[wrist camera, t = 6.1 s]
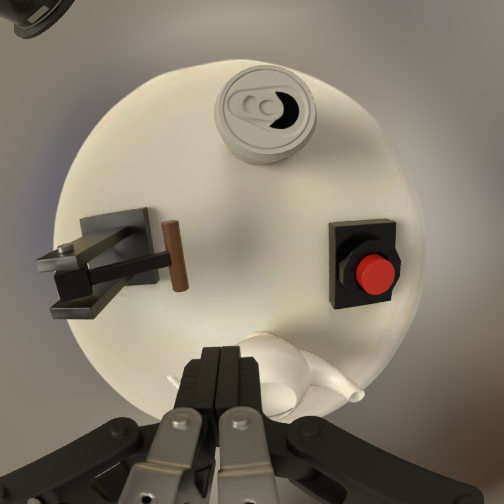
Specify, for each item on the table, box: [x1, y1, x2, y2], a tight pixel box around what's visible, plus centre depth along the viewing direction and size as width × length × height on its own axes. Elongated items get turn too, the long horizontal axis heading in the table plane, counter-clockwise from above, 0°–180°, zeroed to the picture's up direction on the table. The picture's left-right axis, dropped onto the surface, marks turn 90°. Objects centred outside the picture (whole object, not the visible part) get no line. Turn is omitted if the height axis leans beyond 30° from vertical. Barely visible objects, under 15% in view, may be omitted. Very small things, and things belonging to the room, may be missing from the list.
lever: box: [54, 220, 189, 303], centre depth 21 cm, size 11×6×2 cm, turn 95°
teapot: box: [167, 332, 365, 421], centre depth 28 cm, size 10×20×9 cm, turn 87°
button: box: [356, 254, 395, 295], centre depth 26 cm, size 4×4×2 cm
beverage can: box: [214, 65, 317, 165], centre depth 20 cm, size 6×6×12 cm
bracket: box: [36, 207, 159, 319], centre depth 23 cm, size 8×8×12 cm
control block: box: [329, 219, 401, 309], centre depth 28 cm, size 9×7×4 cm
